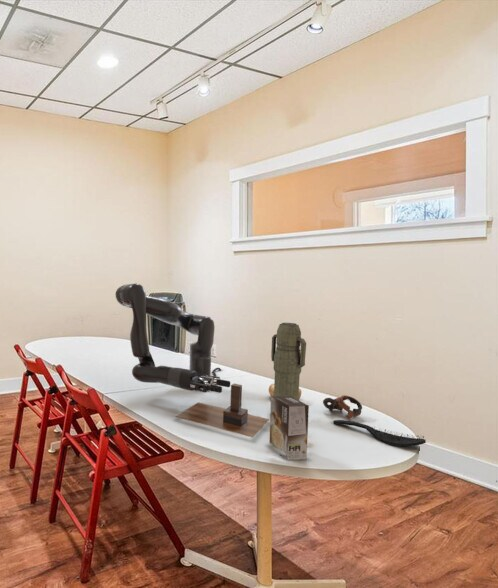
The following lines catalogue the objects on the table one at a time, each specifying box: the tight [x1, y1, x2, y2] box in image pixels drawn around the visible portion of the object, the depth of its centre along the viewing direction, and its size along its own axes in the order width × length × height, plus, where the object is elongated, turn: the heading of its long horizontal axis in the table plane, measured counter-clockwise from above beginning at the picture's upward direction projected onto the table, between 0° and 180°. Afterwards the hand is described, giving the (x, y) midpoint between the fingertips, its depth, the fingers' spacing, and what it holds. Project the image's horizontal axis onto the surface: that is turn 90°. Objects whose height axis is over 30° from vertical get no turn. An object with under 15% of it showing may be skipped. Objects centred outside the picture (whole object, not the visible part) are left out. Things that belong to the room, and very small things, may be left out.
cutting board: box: [175, 402, 270, 438], centre depth 143 cm, size 20×26×2 cm
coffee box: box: [269, 396, 310, 461], centre depth 119 cm, size 9×6×16 cm
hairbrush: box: [333, 419, 427, 447], centre depth 132 cm, size 8×4×25 cm
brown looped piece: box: [322, 394, 363, 420], centre depth 150 cm, size 12×10×8 cm
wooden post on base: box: [223, 383, 249, 426], centre depth 139 cm, size 7×6×13 cm
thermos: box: [270, 322, 307, 401], centre depth 146 cm, size 9×12×35 cm
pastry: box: [268, 383, 302, 400], centre depth 167 cm, size 12×12×9 cm
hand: (225, 387), depth 142 cm, fingers open, 8 cm apart
